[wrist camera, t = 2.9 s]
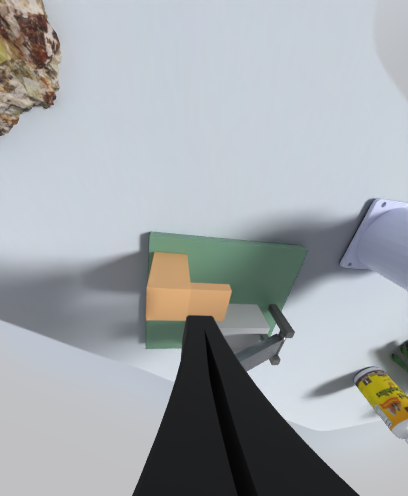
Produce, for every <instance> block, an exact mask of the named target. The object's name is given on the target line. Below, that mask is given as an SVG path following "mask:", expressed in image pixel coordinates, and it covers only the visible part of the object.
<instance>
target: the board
mask: <svg viewBox="0 0 408 496" xmlns="http://www.w3.org/2000/svg"><path fill="white" fill-rule="evenodd" d="M154 252H164V253H177V254H187V257H188V266H189V275H190V282H191V283H212V284H229V285H230V287H231V290H232V293H231V296H230V300H229V304H228V307H227V311H226V315H225V318H224V321H216V323H217V325H218V327H219V329H220V331H221V332H222V334H223V336H224V338H225V339H226V341H227V343H228V344H229V346H230V348H231V349H232V351H233V352H234V354H236V353H238V352H240V351H242V350H244V349H246V348H248V347H250V346H252V345H254V344H256V343H258V342H261V341H263V340H265V339H267V338H269V337H270V336H271V334H272V331H273V329H274V327H275V325H276V323H277V325H278V327H279V328H280V330H281V332H282V334H283V335H284V337H285V338H292V337H293V335H294V333H295V332H294V330H293V329H292V327H291V326H290V324H289V323H288V321H287V320H286V318H285V317H284V315H283V314H282V312H281V311H282V309H283V306H284V304H285V302H286V300H287V297H288V295H289V293H290V290H291V288H292V286H293V284H294V281H295V279H296V277H297V275H298V272H299V270H300V268H301V265H302V263H303V261H304V259H305V256H306V254H307V252H308V250H307V249H306V248H305V247H303V246H297V245H287V244H276V243H266V242H255V241H245V240H234V239H223V238H213V237H202V236H192V235H181V234H171V233H160V232H151V233H150V238H149V266H148V280H149V275H150V270H151V266H152V261H153V257H154ZM185 322H186V321H168V320H147V323H146V349H167V348H182V339H183V333H184V327H185ZM269 360H270V362H271V364H272V365H278V364H279V362H280V358H279V356H278V355H277V356H273V357H271V358H269Z"/></svg>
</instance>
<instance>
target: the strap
mask: <svg viewBox="0 0 408 496" xmlns="http://www.w3.org/2000/svg"><path fill="white" fill-rule="evenodd" d="M285 339H286V338H285V337H284V335H283V334H282V332H281V330H280V332H279V334H275V335H273V336H271V337H269V338H267V339H265V340H263V341H261V342H258V343H256V344H254V345H252V346H250V347H248V348H246V349H244V350H242V351H240V352H238V353H236V354H235V356H236V357H237V359H238V360H239V362H240V363H241V365H242V366H243V368H244V369H245V370H246V372H247V371H248V370H250V369H252V368H254V367H255V366H257V365H259V364H261V363H262V362H264V361H266V360H268V359H269V358H271V357H273V356H277V355H278V354H279V352H280V350H281V348H282V346H283V343H284V341H285Z"/></svg>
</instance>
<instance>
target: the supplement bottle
mask: <svg viewBox="0 0 408 496" xmlns="http://www.w3.org/2000/svg"><path fill="white" fill-rule="evenodd" d="M354 383H355V385H356V386H357V388H358V389H359V390H360V391H361V393H362V394H363V395H364V397H365V398H366V399H367V400H368V402H369V403H370V404H371V406H372V407H373V408H374V410H375V411H376V412H377V413H378V415H379V416H380V417H381V419H382V420H383V421H384V422H385V424H386V425H387V426H388V428H389V429H390V430H391V431H392V433H393V434H394V435H395V436H396V437H398V438H401V439H406V442H407V443H408V396H407V395H406V394H405V393H404V392H403V391H402V390H401V389H400V388H399V387H398V386H397V385H396V384H395V383H394V382H393V380H392V379H391V378H390V377H389V376H388V375H387V374H386V373H385V372H384V371H383V370H382V369H380V368H377V367H371V368H367V369H365V370H363V371H361V372H359V373H358V374H357V375H356V376H355V378H354Z"/></svg>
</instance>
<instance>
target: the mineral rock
mask: <svg viewBox="0 0 408 496" xmlns="http://www.w3.org/2000/svg"><path fill="white" fill-rule="evenodd" d="M60 62H61V51H60V43H59V40H58V37H57V34H56V32H55V31H54V30H53V28H52V27H51V25H50V24H49V22H48V21H47V15H46V13H45V9H44V5H43V1H42V0H0V136H2V135H5V133H9V131H10V130H11V128H12V127H13V125H16V124H17V123H18V120H19V116H20V114H21V113H22V112H23V111H24V110H25V109H26V108H28V109H32V106H33V105H34V104H35V105H39V104H42V105H43V106H44V107H45V108H46V109H47V108H48V107H49V106H50V105H54V104H53V100H55V99H56V95H55V91H58V90H59V85H58V81H59V78H58V73H59V69H58V64H59V63H60Z"/></svg>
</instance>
